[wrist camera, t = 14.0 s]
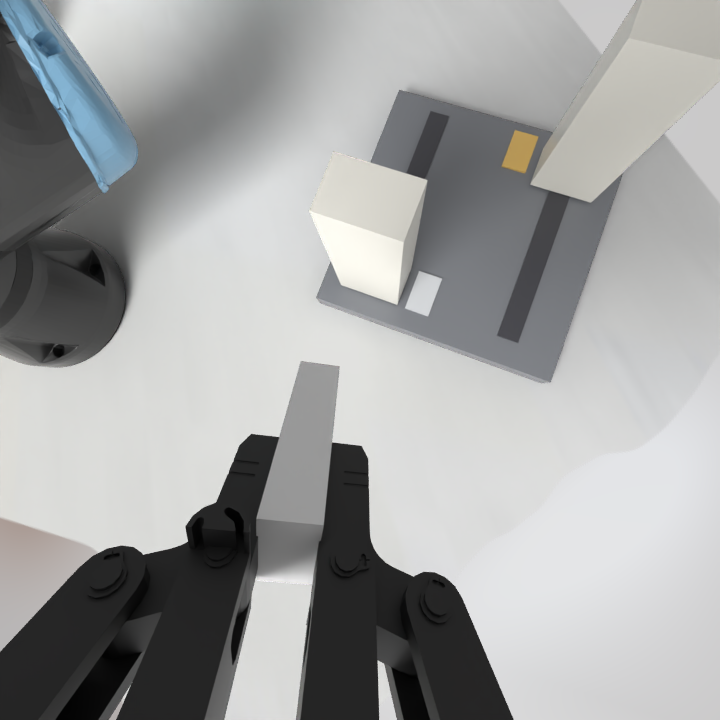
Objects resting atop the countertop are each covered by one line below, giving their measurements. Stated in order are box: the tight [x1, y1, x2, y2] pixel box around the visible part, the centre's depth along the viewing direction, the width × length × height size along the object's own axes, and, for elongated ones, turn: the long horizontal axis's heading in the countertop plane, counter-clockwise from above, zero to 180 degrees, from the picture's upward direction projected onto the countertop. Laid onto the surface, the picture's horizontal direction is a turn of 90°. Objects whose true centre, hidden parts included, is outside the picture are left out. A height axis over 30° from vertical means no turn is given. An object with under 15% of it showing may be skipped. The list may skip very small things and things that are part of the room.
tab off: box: [309, 151, 428, 305], centre depth 27 cm, size 4×6×14 cm, turn 69°
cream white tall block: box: [530, 0, 720, 203], centre depth 27 cm, size 4×6×14 cm, turn 69°
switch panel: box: [316, 90, 623, 383], centre depth 35 cm, size 24×24×2 cm
